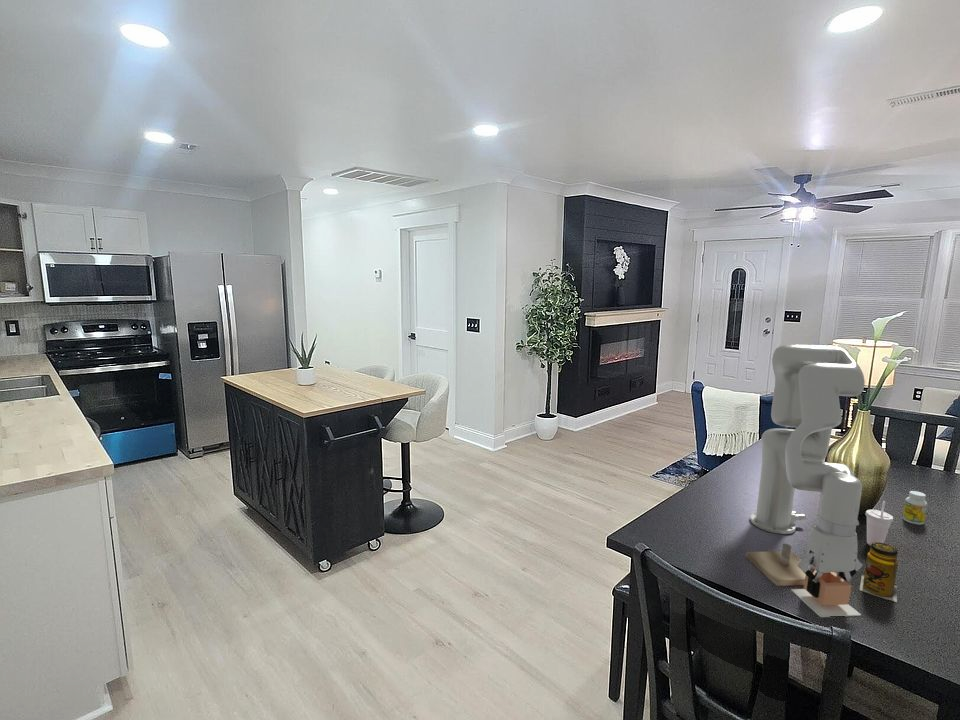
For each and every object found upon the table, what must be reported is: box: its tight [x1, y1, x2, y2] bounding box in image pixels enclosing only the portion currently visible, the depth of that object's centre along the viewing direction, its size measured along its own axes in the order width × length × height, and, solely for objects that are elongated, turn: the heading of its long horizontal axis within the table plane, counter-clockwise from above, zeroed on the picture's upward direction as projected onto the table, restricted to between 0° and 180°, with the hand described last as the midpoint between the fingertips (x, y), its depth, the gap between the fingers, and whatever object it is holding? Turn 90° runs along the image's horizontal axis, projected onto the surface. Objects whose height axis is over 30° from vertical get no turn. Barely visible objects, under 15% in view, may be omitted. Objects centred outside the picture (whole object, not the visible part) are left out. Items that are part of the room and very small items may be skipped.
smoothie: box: [865, 500, 894, 547], centre depth 146 cm, size 6×6×14 cm
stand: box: [745, 543, 810, 587], centre depth 134 cm, size 13×13×7 cm
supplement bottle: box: [902, 490, 928, 526], centre depth 161 cm, size 5×5×10 cm
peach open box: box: [803, 570, 852, 605], centre depth 120 cm, size 6×6×5 cm
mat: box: [790, 588, 862, 618], centre depth 121 cm, size 10×10×1 cm
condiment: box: [859, 542, 899, 603], centre depth 126 cm, size 7×8×12 cm
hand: (826, 593), depth 121 cm, fingers closed on peach open box, 6 cm apart
